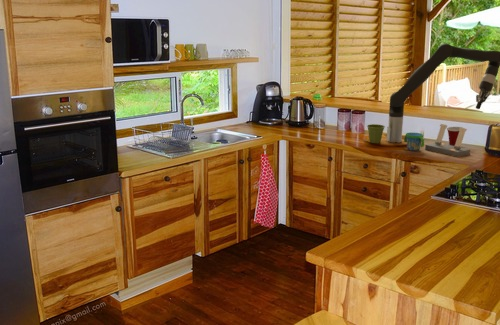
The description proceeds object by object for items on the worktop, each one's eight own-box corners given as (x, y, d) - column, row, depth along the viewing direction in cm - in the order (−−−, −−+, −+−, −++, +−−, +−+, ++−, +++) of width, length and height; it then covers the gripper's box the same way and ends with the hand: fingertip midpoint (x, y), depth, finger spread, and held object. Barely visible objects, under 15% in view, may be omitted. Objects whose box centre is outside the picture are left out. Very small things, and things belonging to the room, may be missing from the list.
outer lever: (458, 148, 336) (464, 128, 335) (453, 147, 339) (459, 127, 338) (460, 149, 337) (466, 129, 337) (455, 148, 340) (461, 128, 340)
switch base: (457, 156, 332) (458, 151, 331) (425, 149, 351) (425, 144, 350) (469, 154, 338) (470, 149, 338) (437, 146, 358) (437, 142, 357)
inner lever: (439, 144, 347) (445, 124, 347) (434, 143, 350) (440, 123, 349) (441, 145, 349) (447, 125, 348) (436, 144, 351) (442, 124, 351)
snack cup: (428, 151, 345) (429, 135, 342) (414, 153, 341) (415, 137, 339) (412, 146, 359) (413, 131, 357) (399, 147, 356) (400, 132, 353)
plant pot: (363, 143, 369) (364, 126, 366) (368, 139, 379) (369, 123, 376) (381, 145, 363) (382, 128, 361) (386, 141, 374) (387, 125, 371)
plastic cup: (441, 144, 363) (443, 127, 360) (454, 143, 367) (456, 125, 364) (452, 148, 353) (454, 130, 350) (466, 147, 357) (468, 128, 354)
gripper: (477, 81, 350) (467, 107, 350) (487, 79, 337) (477, 105, 337) (487, 86, 351) (477, 111, 351) (498, 83, 338) (488, 110, 338)
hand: (477, 108), depth 344 cm, fingers closed
